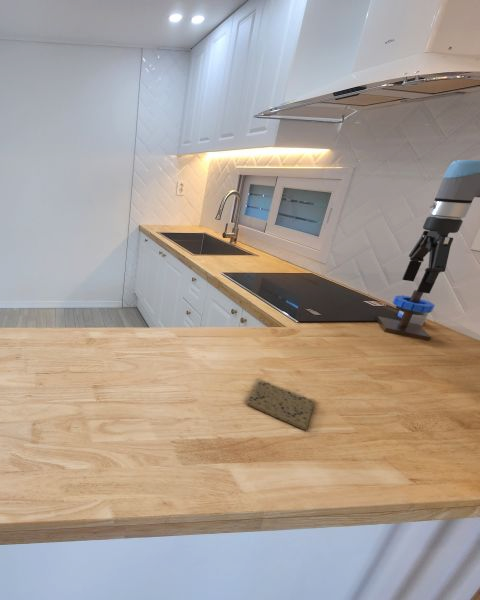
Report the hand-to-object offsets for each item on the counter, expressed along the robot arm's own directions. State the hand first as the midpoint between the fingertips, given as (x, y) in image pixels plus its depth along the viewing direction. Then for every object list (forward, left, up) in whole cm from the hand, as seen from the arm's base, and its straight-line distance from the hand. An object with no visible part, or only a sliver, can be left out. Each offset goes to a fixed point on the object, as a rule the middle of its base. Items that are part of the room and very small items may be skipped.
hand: (414, 286), depth 105 cm
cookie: (+33, +60, -19) cm, 71 cm away
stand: (-6, -14, -19) cm, 25 cm away
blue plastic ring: (-6, -14, -10) cm, 18 cm away
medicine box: (-12, -27, -20) cm, 35 cm away
